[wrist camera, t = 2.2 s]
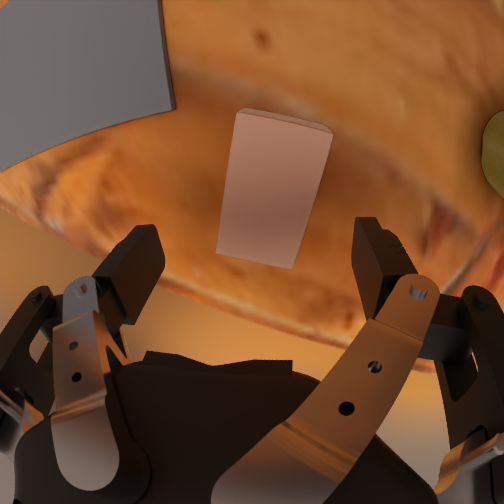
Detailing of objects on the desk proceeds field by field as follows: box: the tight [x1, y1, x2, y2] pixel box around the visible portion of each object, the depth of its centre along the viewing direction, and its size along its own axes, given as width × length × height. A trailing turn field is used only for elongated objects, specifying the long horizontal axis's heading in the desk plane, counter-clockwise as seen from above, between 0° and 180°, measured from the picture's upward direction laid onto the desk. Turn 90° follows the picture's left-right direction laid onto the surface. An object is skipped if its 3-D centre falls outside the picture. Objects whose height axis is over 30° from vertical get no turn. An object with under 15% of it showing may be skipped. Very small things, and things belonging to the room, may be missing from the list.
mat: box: [0, 0, 176, 172], centre depth 11 cm, size 20×16×1 cm
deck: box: [216, 108, 334, 270], centre depth 15 cm, size 4×8×3 cm, turn 170°
